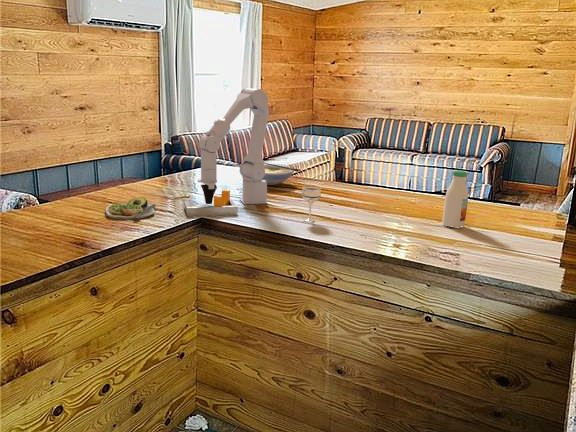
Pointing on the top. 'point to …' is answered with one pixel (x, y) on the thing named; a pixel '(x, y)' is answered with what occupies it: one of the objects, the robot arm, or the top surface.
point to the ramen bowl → (277, 173)
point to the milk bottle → (456, 200)
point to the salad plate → (131, 209)
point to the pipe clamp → (222, 199)
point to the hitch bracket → (211, 210)
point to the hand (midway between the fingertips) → (208, 203)
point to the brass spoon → (182, 196)
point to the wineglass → (310, 196)
